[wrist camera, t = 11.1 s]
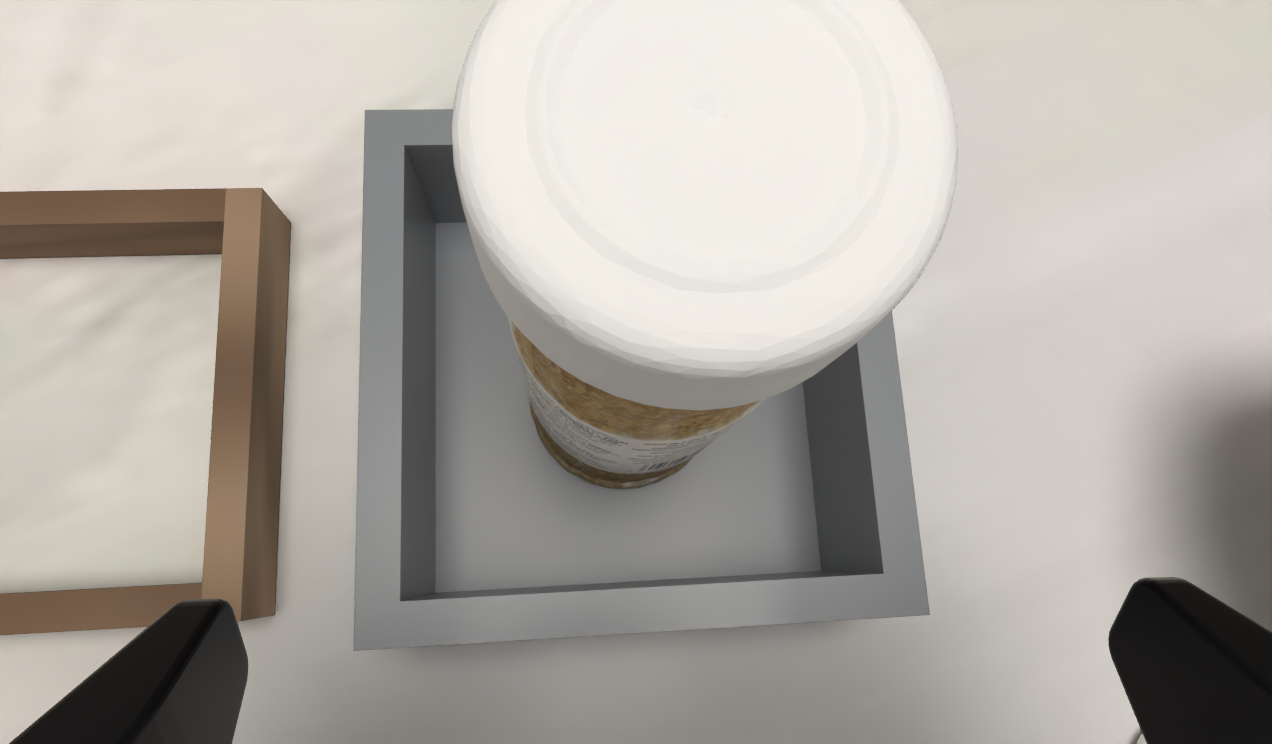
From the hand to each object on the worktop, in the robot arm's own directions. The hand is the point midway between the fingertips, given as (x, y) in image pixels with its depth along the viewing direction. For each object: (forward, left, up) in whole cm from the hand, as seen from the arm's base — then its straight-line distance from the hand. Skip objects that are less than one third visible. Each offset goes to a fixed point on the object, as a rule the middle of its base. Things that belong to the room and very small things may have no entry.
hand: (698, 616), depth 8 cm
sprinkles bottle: (+4, 0, -11) cm, 12 cm away
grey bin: (+5, 0, -12) cm, 13 cm away
